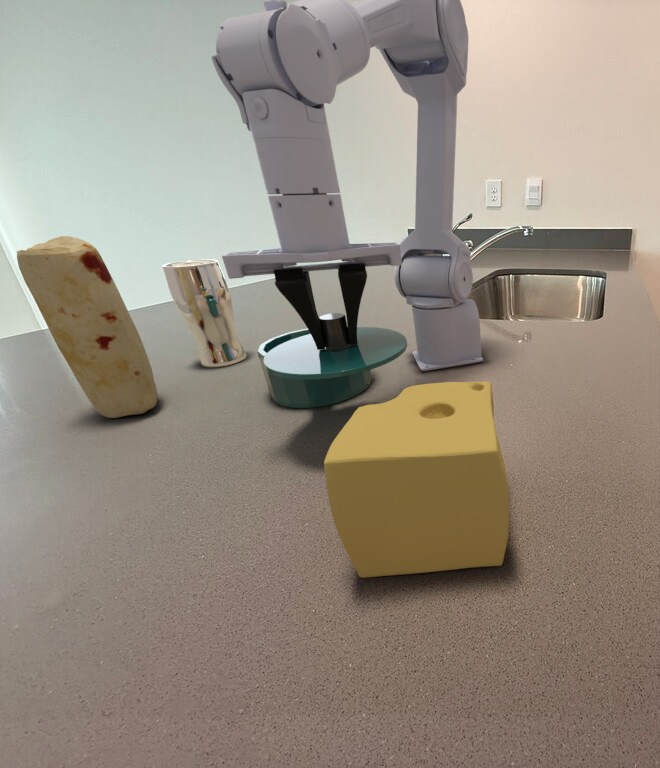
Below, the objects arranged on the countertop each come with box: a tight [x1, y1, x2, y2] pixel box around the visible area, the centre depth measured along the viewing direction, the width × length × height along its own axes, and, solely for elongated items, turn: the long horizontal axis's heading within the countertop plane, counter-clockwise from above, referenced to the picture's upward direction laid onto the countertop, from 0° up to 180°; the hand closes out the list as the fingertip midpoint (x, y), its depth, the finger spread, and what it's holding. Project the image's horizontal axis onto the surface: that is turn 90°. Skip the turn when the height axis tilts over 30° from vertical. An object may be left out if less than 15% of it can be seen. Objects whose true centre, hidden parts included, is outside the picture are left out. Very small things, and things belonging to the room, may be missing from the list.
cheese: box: [323, 381, 510, 579], centre depth 30 cm, size 10×11×10 cm
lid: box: [263, 312, 408, 379], centre depth 40 cm, size 13×13×4 cm
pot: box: [256, 328, 372, 409], centre depth 54 cm, size 12×18×6 cm
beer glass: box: [162, 259, 247, 368], centre depth 61 cm, size 7×7×15 cm
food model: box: [16, 235, 159, 419], centre depth 46 cm, size 10×7×20 cm
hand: (337, 344), depth 41 cm, fingers closed on lid, 2 cm apart
